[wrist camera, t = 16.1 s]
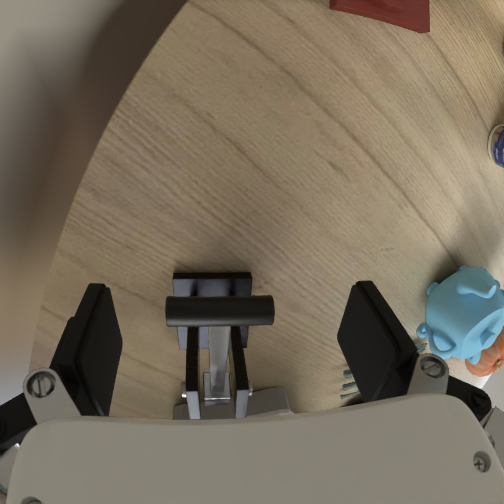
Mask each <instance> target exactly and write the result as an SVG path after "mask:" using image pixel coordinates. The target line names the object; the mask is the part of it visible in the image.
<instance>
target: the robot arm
mask: <svg viewBox="0 0 504 504" xmlns="http://www.w3.org/2000/svg"><path fill="white" fill-rule="evenodd" d="M337 340H338V343H339V345H340V348H341V350H342V352H343V354H344V357H345V359H346V361H347V363H348V366H349V368H350V370H351V373H352V375H353V377H354V380H355V382H356V384H357V387H358V389H359V391H360V394H361V396H362V399H363V401H364V403H363V404H357V405H352V406H346V407H340V408H334V409H327V410H321V411H313V412H306V413H297V414H288V415H279V416H268V417H255V418H239V419H213V420H167V419H139V418H121V417H108V416H109V411H110V405H111V400H112V394H113V389H114V384H115V379H116V374H117V369H118V365H119V360H120V355H121V351H122V337H121V333H120V329H119V325H118V321H117V317H116V313H115V309H114V304H113V300H112V296H111V291H110V288H106V286H105V284H100V283H90V284H89V285H88V287H87V290H86V292H85V294H84V296H83V298H82V300H81V303H80V305H79V307H78V309H77V312H76V314H75V316H74V317H71V318H70V319H69V320H68V322H67V325H66V327H65V329H64V332H63V334H62V337H61V339H60V341H59V344H58V346H57V349H56V351H55V354H54V356H53V359H52V362H51V364H50V367H49V368H38V369H35V370H33V371H32V372H30V373H29V374H28V375H27V376H26V378H25V380H24V382H23V393H21V394H20V395H18V396H16V397H15V398H13V399H11V400H9V401H8V402H6V403H4V404H3V405H1V406H0V504H504V412H502V411H501V410H500V409H499V408H497V407H496V406H495V407H494V408H492V407H491V400H490V398H489V396H488V394H486V393H485V392H484V391H483V390H481V389H479V388H477V387H475V386H473V385H470V384H468V383H466V382H463V381H461V380H459V379H457V378H454V377H452V376H450V375H449V367H448V365H447V363H446V362H445V361H444V360H443V359H442V358H441V357H439V356H437V355H436V354H432V353H425V354H421V355H419V353H418V352H417V351H418V349H417V347H416V346H415V344H414V343H413V341H412V339H411V338H410V336H409V335H408V333H407V332H406V330H405V329H404V327H403V326H402V324H401V323H400V321H399V320H398V318H397V317H396V315H395V314H394V312H393V311H392V309H391V308H390V306H389V305H388V303H387V302H386V300H385V299H384V297H383V296H382V295H381V293H380V292H379V290H378V289H377V287H376V286H375V285H374V283H373V282H372V281H358V282H357V283H356V285H353V286H352V288H351V292H350V295H349V299H348V302H347V305H346V308H345V312H344V315H343V318H342V321H341V324H340V328H339V331H338V334H337ZM41 502H42V503H41Z"/></svg>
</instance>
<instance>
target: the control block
mask: <svg viewBox="0 0 504 504" xmlns="http://www.w3.org/2000/svg"><path fill="white" fill-rule="evenodd" d="M330 9H332V10H337V11H342V12H347V13H351V14H356V15H360V16H364V17H368V18H372V19H376V20H379V21H383V22H387V23H390V24H393V25H397V26H400V27H403V28H406V29H409V30H412V31H415V32H418V33H426V32H430V14H429V0H330Z"/></svg>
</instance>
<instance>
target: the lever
mask: <svg viewBox="0 0 504 504" xmlns="http://www.w3.org/2000/svg"><path fill="white" fill-rule="evenodd" d="M165 313H166V323H167V326H168V327H208V334H209V369H210V372H203V386H204V402H205V406H218V405H230V400H231V389H230V375H229V372H226V366H227V357H228V348H229V339H230V331H231V326H257V325H272V324H273V322H274V316H275V308H274V300H273V297H272V296H271V295H263V296H168V297H167V298H166V307H165Z"/></svg>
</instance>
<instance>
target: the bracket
mask: <svg viewBox="0 0 504 504" xmlns="http://www.w3.org/2000/svg"><path fill="white" fill-rule="evenodd" d="M251 289H252V275H251V272H242V273H173V290H174V296H251ZM177 332H178V341H179V349H187V350H186V382H182V383H181V392H182V397H186V398H187V405H188V411H189V417H190V419H201V401H200V349H209V334H208V327H177ZM247 339H248V326H231V331H230V339H229V348H228V355H229V365H230V375H231V384H232V393H233V402H234V411H235V418H246V417H247V409H248V399H249V396H252V382H251V380H248V376H247V370H246V363H245V357H244V350H243V348H247Z"/></svg>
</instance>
